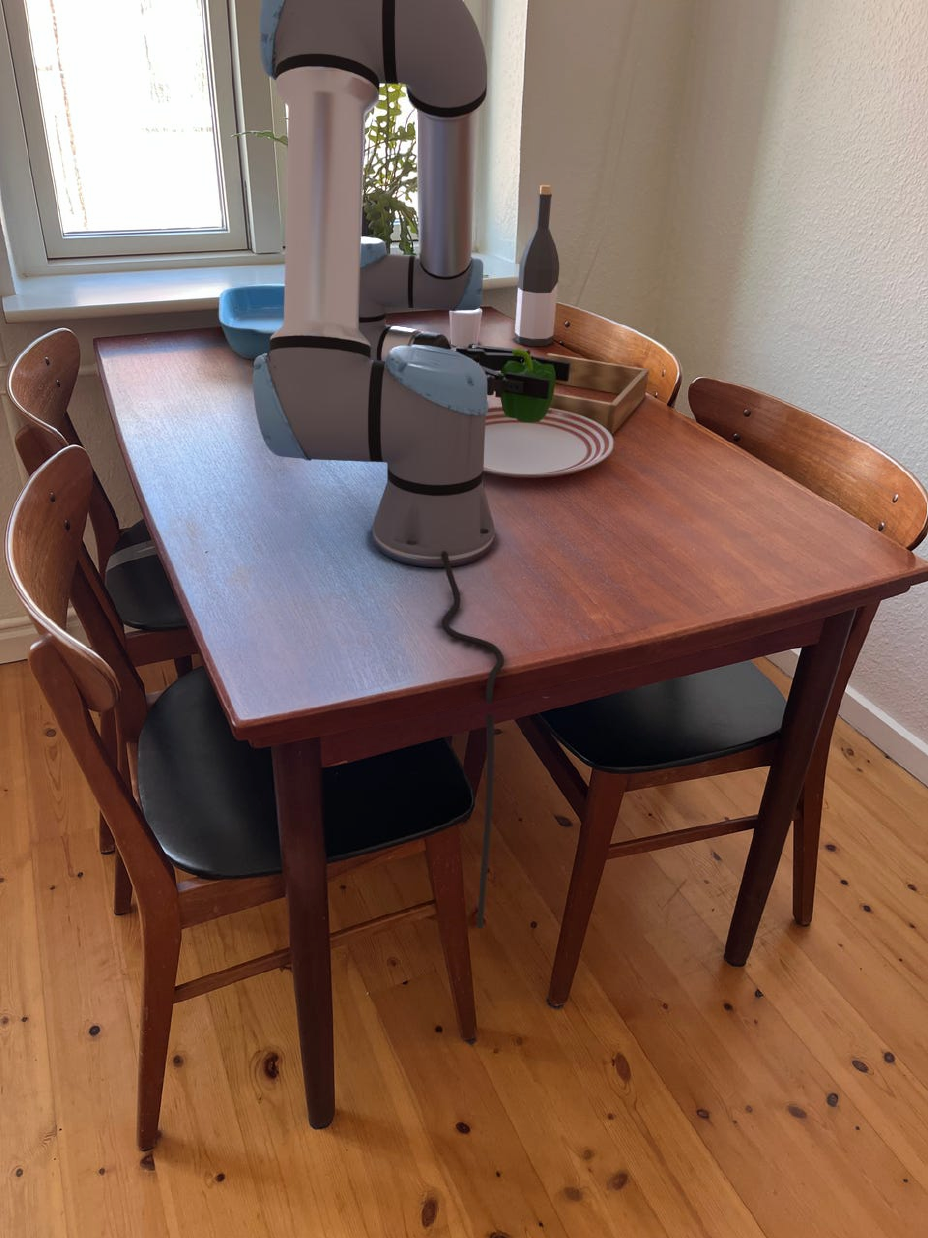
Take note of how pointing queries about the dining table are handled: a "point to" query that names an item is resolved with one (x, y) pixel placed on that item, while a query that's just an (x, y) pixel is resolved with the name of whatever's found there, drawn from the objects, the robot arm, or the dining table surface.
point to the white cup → (465, 327)
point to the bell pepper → (525, 405)
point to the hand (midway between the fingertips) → (558, 380)
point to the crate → (605, 379)
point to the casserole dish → (251, 317)
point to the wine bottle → (538, 281)
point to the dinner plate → (543, 444)
